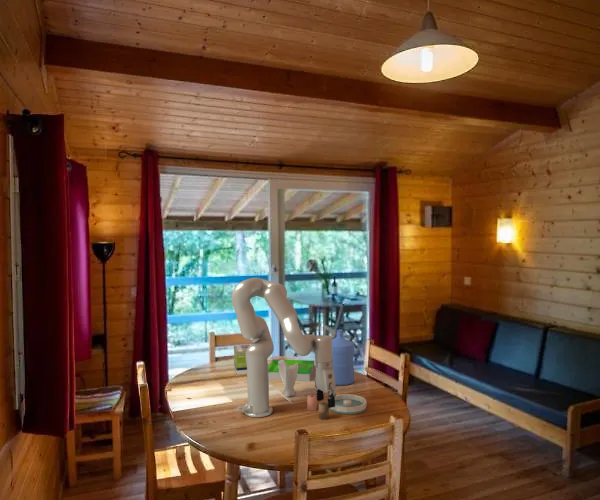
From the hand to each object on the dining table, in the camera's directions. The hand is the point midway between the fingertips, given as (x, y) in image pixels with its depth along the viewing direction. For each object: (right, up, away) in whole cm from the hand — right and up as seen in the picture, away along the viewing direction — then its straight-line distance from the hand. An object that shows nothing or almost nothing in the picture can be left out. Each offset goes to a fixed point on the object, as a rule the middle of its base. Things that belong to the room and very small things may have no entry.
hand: (325, 403), depth 196 cm
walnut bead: (-1, -6, 0) cm, 6 cm away
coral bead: (-6, -6, +10) cm, 13 cm away
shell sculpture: (-17, -6, +28) cm, 33 cm away
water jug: (+11, -5, +50) cm, 51 cm away
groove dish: (+11, -6, +12) cm, 17 cm away
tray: (-17, -5, +64) cm, 66 cm away
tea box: (-44, -5, +67) cm, 80 cm away
